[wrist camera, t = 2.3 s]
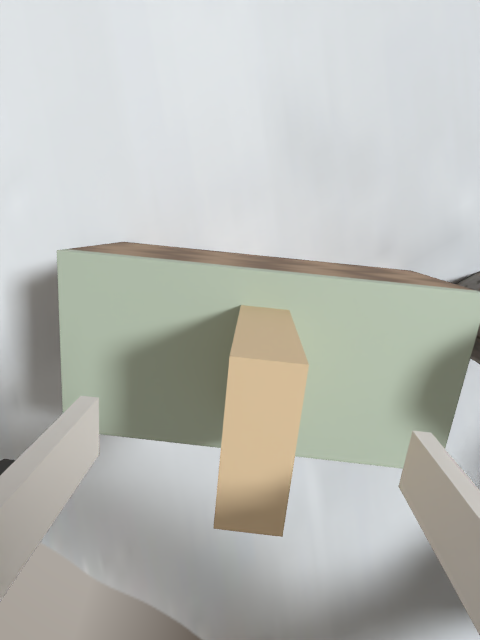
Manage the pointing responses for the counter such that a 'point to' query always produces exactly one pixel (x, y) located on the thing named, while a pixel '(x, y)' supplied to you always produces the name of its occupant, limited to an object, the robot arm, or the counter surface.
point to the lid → (261, 366)
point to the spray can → (476, 283)
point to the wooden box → (270, 263)
